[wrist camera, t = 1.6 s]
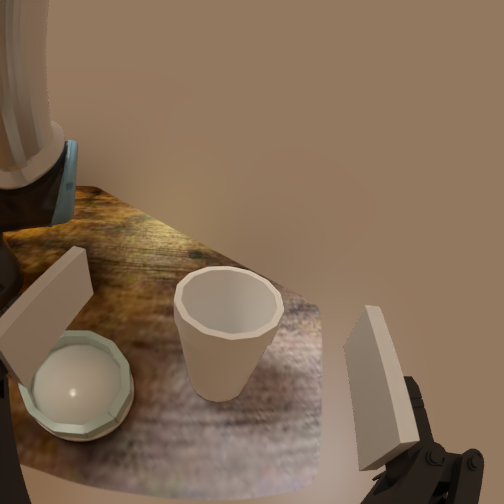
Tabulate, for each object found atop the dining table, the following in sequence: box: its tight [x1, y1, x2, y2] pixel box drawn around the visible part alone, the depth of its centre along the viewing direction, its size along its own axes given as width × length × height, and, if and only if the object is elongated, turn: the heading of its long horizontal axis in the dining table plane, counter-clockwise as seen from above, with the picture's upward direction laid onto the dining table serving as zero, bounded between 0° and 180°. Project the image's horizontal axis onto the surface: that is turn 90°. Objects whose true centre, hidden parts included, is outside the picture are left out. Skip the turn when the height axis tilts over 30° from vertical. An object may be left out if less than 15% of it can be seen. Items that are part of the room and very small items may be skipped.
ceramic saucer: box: [19, 330, 134, 442], centre depth 24 cm, size 14×14×2 cm
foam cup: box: [174, 266, 284, 402], centre depth 27 cm, size 10×9×13 cm
